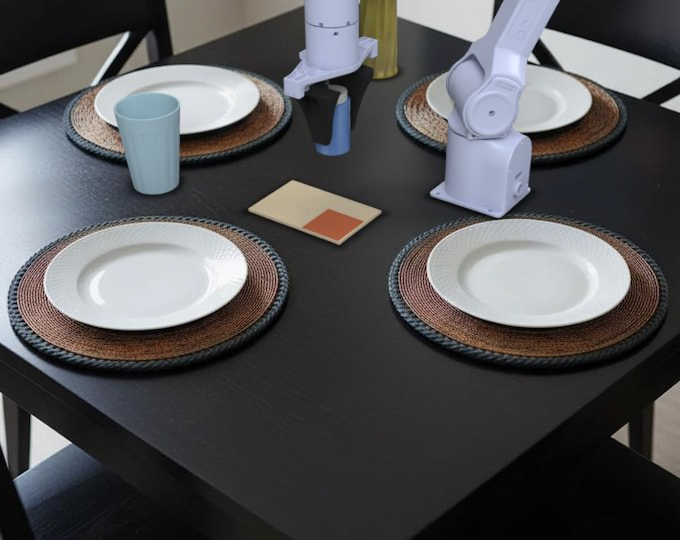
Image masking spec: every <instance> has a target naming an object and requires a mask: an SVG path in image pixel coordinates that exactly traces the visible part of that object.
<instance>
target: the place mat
mask: <svg viewBox="0 0 680 540" xmlns="http://www.w3.org/2000/svg"><path fill="white" fill-rule="evenodd" d="M248 212H250V213H252V214H255V215H257V216H260V217H263V218H265V219H268V220H271V221H274V222H276V223H279V224H282V225H284V226H287V227H290V228H293V229H296V230H298V231H301V232H303V233H306V234H309V235H311V236H314V237H317V238H319V239H322V240H325V241H327V242H331V243H333V244H335V245H338V246H340V245H341V244H342V243H344V242H345V241H346V240H348V239H349V238H351V237H352V236H353V235H354V234H356V233H357V232H358V231H360V230H361V229H363V228H364V227H365V226H367V225H368V224H369V223H370V222H372V221H373V220H375V219H376V218H377V217H378V216H380V215H381V214H382V210H381V209H378V208H375V207H373V206H370V205H366V204H364V203H361V202H357V201H356V200H355V201H354V200H352V199H349V198H346V197H344V196H341V195H337V194H334V193H332V192H328V191H325V190H323V189H321V188H317V187H315V186H311V185H309V184H305V183H302V182H301V181H297V180H294V179H293V180H292V179H291V180H290V181H289V182H287V183H286V184H284V185H283V186H281V187H280V188H278V189H276V190H275V191H274V192H272V193H270V194H268V195H267V196H265V197H264V198H262V199H261V200H260V201H258V202H256V203H255V204H253V205H252V206H250V207H249V208H248Z"/></svg>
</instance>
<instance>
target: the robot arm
mask: <svg viewBox="0 0 680 540" xmlns="http://www.w3.org/2000/svg"><path fill="white" fill-rule="evenodd" d="M560 1H561V0H503V1H502V3H501V5H500V7H499V8H498V10H497V12H496V15H495V17H494V18H493V20H492V21H491V24H490V25H489V28H488V29H487V32H486V34H485V35H483V36H482V37H480V38H477V39H476V40H474V41H473V42H472V43H471V45H470V46H469V49H468V50H467V52H466V53H465V54H464V56H462V57H461V58H460V59H459V60H458V61H456V62H455V63H454V64H452V66H451V67H450V69H449V70H448V73H447V75H446V78H445V90H446V92H447V95H448V97H449V98H450V100H452V102H453V107H452V109H451V112H450V114H449V115H448V118H447V132H446V133H447V135H446V151H445V152H446V153H445V171H444V172H445V173H444V181H442V182H441V183H439V185H437V186H436V187H435V188H433V189H432V190H431V191H430V192H429V196H430V197H432V198H434V199H438V200H441V201H443V202H447V203H450V204H453V205H455V206H460V207H463V208H465V209H468V210H471V211H473V212H474V211H475V212H477V213H481V214H484V215H487V216H490V217H494V218H496V219H500V218H502V217H503V216H505V215H506V214H507V213H508V212H509V211H510V210H511V209H512V208H513V207H515V206H516V205H517V204H519V202H521V200H523V199H524V198H525V197H526V196H527V195H529V193H531V188H530V186H529V180H530V171H531V163H532V162H531V161H532V150H533V146H532V140H531V139H530V137H529V136H527V135H525V134H523V133H522V132H519V131H518V130H516V129H515V128H514V127H513V125H514V124H515V122H516V121H517V119H518V116H519V110H520V100H521V97H522V94H523V92H524V90H525V88H526V86H527V71H528V59H529V57H530V55H531V54H532V52H533V50H534V48H535V46H536V44H537V43H538V41H539V39H540V37H541V36H542V34H543V31H545V28H546V27H547V25H548V22H549V21H550V19H551V17H552V15H553V14H554V12H555V10H556V8H557V6H558V5H559V3H560ZM303 3H304V5H303V6H304V32H305V33H304V34H305V37H304V38H305V49H303V50H302V51H299V52H298V55H299V60H301V61H300V62H299V63H298V64H297V65H296V67H295V68H294V69H293V71H292V72H291V73H290V74H288V75H286V76H285V77H283V94H284V96H287V97H291V98H294V99H295V101H296V102H297V104H298V106H299V107H300V110H301V111H302V113H303V116H304V118H305V121H306V124H307V127H308V131H309V134H310V137H311V140H312V143H314V144H315V143H318V144H321V145H324V146H327V145H329V144H330V142H331V139H332V130H333V117H334V111H335V107H336V104H337V101H338V99H339V96H340V94H341V92H339V91H336V90H332V89H329V85H340V86H343V87H345V88H346V89H347V91H348V96H349V97H350V132H352V131H353V130H355V127H356V123H357V119H358V115H359V111H360V107H361V104H362V102H363V98H364V96H365V93H366V91H367V89H368V87H369V85H370V83H371V82H372V80H373V79H372V78H373V77H374V69H373V68H372V67H369V66H366V65H363V61H364V60H365V59H366V58H367V57H368V58H374V57H376V56H377V52H378V40H376V39H372V38H368V37H364V36H363V37H361V38H359V23H360V0H304V1H303ZM327 80H328V84H327Z"/></svg>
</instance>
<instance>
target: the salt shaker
mask: <svg viewBox="0 0 680 540" xmlns="http://www.w3.org/2000/svg"><path fill="white" fill-rule="evenodd" d="M328 85H329V89H332V90H336V91H339V92H341V94H340V96H339V99H338V101H337V104H336V107H335V111H334V117H333V130H332V139H331V142H330V144H329V145H327V146H324V145H321V144H318V143H315V142H314V146H315V151H316V152H317V153H319V154H321V155H323V156H333V157H334V156H341V155H345V154H347V153H348V152H349V151H350V150H351V145H352V144H351V140H352V139H351V131H350V97H349V96H348V91H347V89H346V88H345V87H343V86H340V85H330V84H328Z"/></svg>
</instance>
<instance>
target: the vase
mask: <svg viewBox="0 0 680 540" xmlns="http://www.w3.org/2000/svg"><path fill="white" fill-rule="evenodd" d="M363 36H364V37H368V38H372V39H376V40H378V52H377V56H376V57H374V58H368V57H367V58H366V59H365V60H364V61H363V65H366V66H369V67H372V68H373V69H374V77H373V78H372V80H386V79H387V80H388V79H391V78H393V77H395V76H396V75H397V74H398V72H399V68H398V0H359V38H361V37H363Z"/></svg>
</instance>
